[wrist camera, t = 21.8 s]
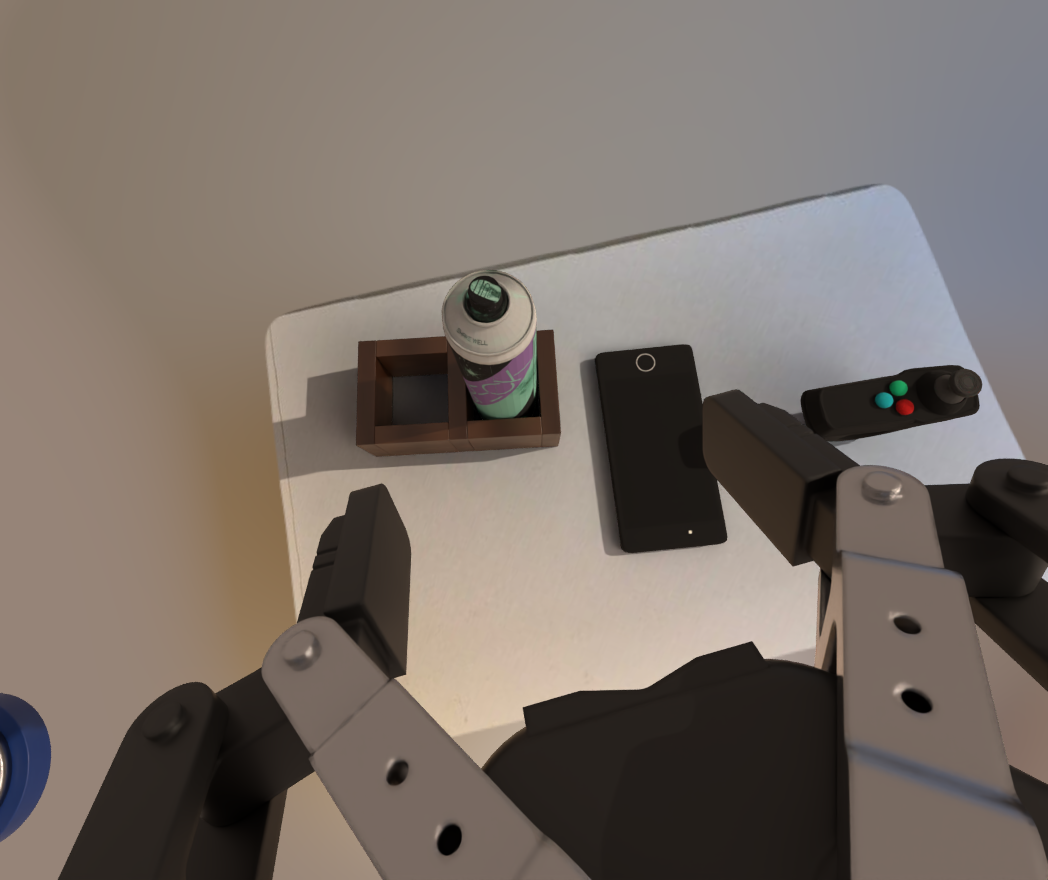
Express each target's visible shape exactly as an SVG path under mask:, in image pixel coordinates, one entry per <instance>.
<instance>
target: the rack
mask: <svg viewBox="0 0 1048 880" xmlns="http://www.w3.org/2000/svg"><path fill="white" fill-rule="evenodd" d="M536 368H537V384H538V399H539V415H540V417H528V418H510V419H493V420H476V421H474V403H473V399H472V397H471V394H470V392H469V390H468V387H467V385H466V383H465V380H464V378H463V376H462V373H461V371H460V369H459V366H458V364H457V362H456V359H455V357H454V354H453V352H452V350H451V347H450V345H449V343H448V340H447V338H446V336H444V337H427V338H411V339H394V340H378V341H359V342H358V385H357V428H356V445H357V446H358V447H360V448H362V449H364V450H365V451H367V452H369V453H371V454H373V455H374V456H376V457H379V456H396V455H414V454H431V453H448V452H458V451H459V452H465V451H482V450H500V449H517V448H534V447H552V446H558V444H559V439H560V435H561V427H560V413H559V400H558V386H557V372H556V359H555V345H554V331H553V330H541V331H536ZM437 374H448V416H449V422H441V423H424V424H407V425H392V417H393V377H403V376H420V375H437Z"/></svg>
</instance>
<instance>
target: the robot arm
mask: <svg viewBox="0 0 1048 880" xmlns="http://www.w3.org/2000/svg"><path fill="white" fill-rule="evenodd" d="M703 455H704V459H705V462H706V464H707V467H708V469H709V470H710V472H711V473H712V474H713V476H714V477H715V478H716V479H717V480H718V481H719V482H720V484H721V485H722V486H723V487H724V488H725V489H726V490H727V492H728V493H729V494H730V495H731V496H732V497H733V498H734V500H735V501H736V502H737V503H738V504H739V505H740V507H741V508H742V509H743V510H744V511H745V512H746V513H747V515H748V516H749V517H750V518H751V519H752V520H753V521H754V523H755V524H756V525H757V526H758V527H759V528H760V529H761V531H762V532H763V533H764V534H765V535H766V536H767V537H768V539H769V540H770V541H771V542H772V543H773V544H774V546H775V547H776V548H777V549H778V550H779V551H780V552H781V554H782V555H783V556H784V557H785V558H786V559H787V560H788V562H789V563H790V564H791V565H792V566H796V565H800V564H803V563H807V562H811V561H814V562H815V563H816V564H817V565H818V566H819V567H820V572H819V577H818V601H817V630H816V653H815V663H814V667H812V666H809V665H806V664H802V663H797V662H792V661H787V660H777V659H764V658H763V657H762V655H761V654H760V652H759V651H758V649H757V648H756V646H755V645H754V643H753V642H752V641H751V642H748V643H744V644H741V645H737V646H734V647H730V648H727V649H723V650H720V651H717V652H713V653H710V654H706V655H703V656H699V657H696V658H695V659H693V660H691V661H690V662H688V663H687V664H685V665H683V666H682V667H680V668H678V669H677V670H675V671H674V672H672V673H670V674H669V675H667V676H666V677H664V678H662V679H661V680H659V681H658V682H656V683H654V684H653V685H651V686H649V687H647V688H645V689H639V690H600V691H578V692H574V693H571V694H567V695H564V696H561V697H557V698H554V699H550V700H547V701H543V702H540V703H536V704H533V705H529V706H526V707H523V712H524V718H525V724H526V727H524V728H523V729H521V730H520V731H518V732H517V733H515V734H514V735H513V736H512V737H510V738H509V739H508V740H507V741H505V742H504V743H503V744H502V745H501V746H500V747H499V748H498V749H497V750H496V751H495V752H494V753H493V754H492V755H491V757H490V758H489V759H488V761H487V762H486V763H485V764H484V766H483V767H482V768H480V767H479V766H478V765H477V764H476V763H475V762H474V761H473V760H472V759H471V758H470V757H469V756H468V755H467V754H466V753H465V752H464V751H463V749H462V748H460V746H459V745H458V744H457V743H456V742H455V741H454V740H453V739H452V738H451V737H450V736H449V735H448V734H447V733H446V732H445V730H444V729H443V728H442V727H441V726H440V725H439V724H438V723H437V722H436V721H435V720H434V719H433V718H432V717H431V716H430V715H429V714H428V713H427V711H426V710H425V709H424V708H423V707H422V706H421V705H420V704H419V703H418V702H417V701H416V700H415V699H414V698H413V697H412V696H411V695H410V694H409V693H408V691H407V690H406V689H405V688H404V687H403V686H402V685H401V684H400V683H399V682H398V681H397V680H396V679H394V678H396V677H399V676H403V675H406V664H407V641H408V617H409V594H410V570H411V547H410V541H409V537H408V534H407V531H406V528H405V526H404V524H403V522H402V520H401V518H400V515H399V513H398V511H397V509H396V507H395V505H394V502H393V500H392V498H391V496H390V494H389V492H388V490H387V488H386V486H385V485H384V484H378V485H375V486H371V487H367V488H363V489H360V490H356V491H352V492H351V493H350V496H349V500H348V504H347V509H346V513H345V515H343V516H339V517H336V518H334V519H333V520H332V521H331V523H330V524H329V526H328V527H327V528H326V530H325V531H324V532H323V534H322V535H321V538H320V542H319V545H318V549H317V556H315V560H314V563H313V570H312V571H311V574H310V578H309V581H308V585H307V589H306V592H305V596H304V599H303V603H302V607H301V610H300V614H299V617H298V621H297V624H295V625H293V626H292V627H290V628H289V629H287V630H286V631H285V632H284V633H282V634H281V635H280V636H279V637H278V638H277V639H276V640H275V642H274V643H273V644H272V645H271V647H270V648H269V650H268V652H267V653H266V655H265V658H264V660H263V664H262V667H261V668H260V669H258V670H256V671H255V672H253V673H251V674H250V675H248V676H246V677H244V678H242V679H241V680H239V681H237V682H235V683H233V684H232V685H230V686H228V687H226V688H224V689H223V690H221V691H219V692H217V693H214V692H213V691H212V690H211V689H210V688H209V687H208V686H207V685H206V684H203V683H200V682H191V683H186V684H183V685H180V686H178V687H175V688H173V689H172V690H170V691H168V692H166V693H165V694H163V695H162V696H160V697H159V698H157V699H156V700H155V701H154V702H153V703H151V704H150V705H149V706H148V707H147V708H146V709H145V710H144V711H143V712H142V713H141V714H140V715H139V716H138V717H137V719H136V720H135V721H134V722H133V724H132V725H131V727H130V728H129V730H128V731H127V733H126V735H125V737H124V739H123V741H122V743H121V745H120V747H119V750H118V752H117V754H116V756H115V758H114V760H113V762H112V765H111V767H110V769H109V771H108V773H107V775H106V777H105V780H104V782H103V784H102V786H101V788H100V790H99V793H98V795H97V797H96V799H95V801H94V803H93V805H92V808H91V810H90V812H89V814H88V816H87V818H86V820H85V823H84V825H83V827H82V829H81V831H80V833H79V835H78V837H77V840H76V842H75V844H74V846H73V848H72V851H71V853H70V855H69V857H68V859H67V861H66V864H65V865H64V868H63V870H62V872H61V874H60V876H59V878H58V880H272V877H273V872H274V866H275V860H276V854H277V848H278V842H279V836H280V830H281V824H282V818H283V813H284V807H285V800H286V795H287V789H288V788H289V787H291V786H293V785H294V784H296V783H297V782H299V781H300V780H302V779H303V778H305V777H306V776H308V775H310V774H311V773H313V772H314V771H316V773H317V775H318V776H319V778H320V780H321V781H322V783H323V785H324V786H325V787H326V789H327V791H328V792H329V794H330V796H331V797H332V799H333V801H334V802H335V804H336V805H337V807H338V809H339V810H340V812H341V813H342V815H343V817H344V818H345V820H346V821H347V823H348V825H349V826H350V828H351V830H352V831H353V833H354V834H355V836H356V837H357V839H358V841H359V842H360V844H361V846H362V847H363V849H364V850H365V852H366V854H367V855H368V857H369V858H370V860H371V862H372V863H373V865H374V866H375V868H376V869H377V871H378V873H379V874H380V876H381V878H382V879H383V880H1048V784H1046V783H1044V782H1042V781H1040V780H1038V779H1036V778H1034V777H1032V776H1030V775H1028V774H1026V773H1025V772H1022V771H1021V770H1019V769H1017V768H1015V767H1013V766H1011V765H1009V764H1008V761H1007V756H1006V752H1005V748H1004V744H1003V740H1002V735H1001V731H1000V727H999V723H998V719H997V715H996V710H995V706H994V702H993V698H992V694H991V690H990V686H989V681H988V677H987V673H986V669H985V665H984V660H983V656H982V652H981V648H980V644H979V639H978V635H977V631H976V627H975V624H977V625H978V626H979V627H980V628H981V629H982V630H983V631H984V632H985V633H986V634H987V635H988V636H989V637H990V638H991V639H993V641H994V642H996V643H997V644H998V645H999V646H1000V647H1001V648H1002V649H1003V650H1004V651H1005V652H1006V653H1007V654H1008V655H1009V656H1010V657H1011V658H1013V659H1014V660H1015V661H1016V662H1017V663H1018V664H1019V665H1020V666H1021V667H1022V668H1023V669H1024V670H1025V671H1026V672H1027V673H1029V674H1030V675H1031V676H1032V677H1033V678H1034V679H1035V680H1036V681H1037V682H1038V683H1039V684H1040V685H1041V686H1042V687H1043V688H1044V689H1045V690H1047V691H1048V582H1046V581H1045V580H1044V579H1042V576H1043V574H1044V572H1045V570H1046V569H1047V567H1048V465H1045V464H1042V463H1038V462H1033V461H1028V460H1021V459H995V460H990V461H986V462H984V463H982V464H980V465H979V466H978V467H977V468H976V469H975V471H974V474H973V477H972V479H971V482H970V484H947V485H924V484H922V483H921V482H920V481H919V480H918V479H916V478H915V477H913V476H911V475H910V474H908V473H905V472H903V471H900V470H897V469H894V468H890V467H885V466H877V465H863V466H860V465H858V464H857V463H856V462H854V461H853V460H852V459H850V458H849V457H848V456H846V455H845V454H844V453H842V452H841V451H839V450H838V449H837V448H835V447H834V446H833V445H831V444H830V443H829V442H827V441H826V440H824V439H823V438H822V437H820V436H819V435H818V434H814V433H813V431H812V430H811V429H809V428H808V427H807V426H805V425H804V424H802V425H801V423H800V421H799V420H797V419H796V418H795V417H793V416H792V415H790V414H789V413H788V412H786V411H785V410H782V409H779V408H777V407H774V406H771V405H768V404H765V403H761V404H757V403H756V402H754V401H753V400H752V399H750V398H749V397H748V396H747V395H745V394H744V393H743V392H741V391H740V390H737V389H735V390H731V391H727V392H724V393H720V394H716V395H713V396H709V397H706V398H705V399H704V401H703ZM11 775H12V758H11V752H10V749H9V746H8V743H7V741H6V739H5V737H4V736H3V734H2V733H1V732H0V808H1V806H2V804H3V802H4V800H5V798H6V795H7V792H8V789H9V786H10V781H11Z"/></svg>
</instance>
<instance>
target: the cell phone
mask: <svg viewBox="0 0 1048 880" xmlns="http://www.w3.org/2000/svg"><path fill="white" fill-rule="evenodd" d="M595 364H596V370H597V377H598V384H599V391H600V399H601V406H602V413H603V420H604V427H605V434H606V441H607V448H608V456H609V463H610V470H611V477H612V484H613V491H614V498H615V506H616V513H617V520H618V527H619V534H620V542H621V548H622V550H623V551H624V552H628V553H637V552H646V551H656V550H666V549H676V548H686V547H696V546H706V545H715V544H721V543H724V542H726V540H727V532H726V526H725V520H724V515H723V510H722V505H721V499H720V494H719V489H718V483H717V479H716V478H715V477H714V476H713V474H712V473H711V472H710V470H709V469H708V467H707V464H706V462H705V459H704V455H703V404H702V399H701V393H700V388H699V383H698V377H697V372H696V367H695V361H694V356H693V351H692V348H691V346H690V345H672V346H663V347H653V348H643V349H633V350H623V351H614V352H604V353H600V354H598V355H597V356H596V359H595Z"/></svg>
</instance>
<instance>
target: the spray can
mask: <svg viewBox="0 0 1048 880" xmlns="http://www.w3.org/2000/svg"><path fill="white" fill-rule="evenodd" d="M442 322H443V329H444V332H445V336H446V338H447V340H448V343H449V345H450V347H451V350H452V352H453V354H454V357H455V359H456V362H457V364H458V366H459V369H460V371H461V373H462V376H463V378H464V380H465V383H466V385H467V387H468V390H469V392H470V394H471V397H472V399H473V401H474V404H475V406H476V408H477V411H478V413H479V415H480V417H481V418H482V419H483V420H493V419H510V418H528V417H532V415H533V414H534V411H535V407H536V325H537V317H536V309H535V306H534V302H533V299H532V297H531V294H530V292H529V291H528V289H527V288H526V286H525V285H524V284H523V283H522V282H521V281H520V280H518V279H517V278H515V277H514V276H512V275H510V274H508V273H505V272H501V271H496V270H484V271H478V272H474V273H471V274H469V275H467V276H465V277H463V278H462V279H460V280H459V281H458V282H456V283H455V284H454V285H453V287H452V288H451V289H450V290H449V292H448V294H447V295H446V297H445V300H444V303H443V307H442Z"/></svg>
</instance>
